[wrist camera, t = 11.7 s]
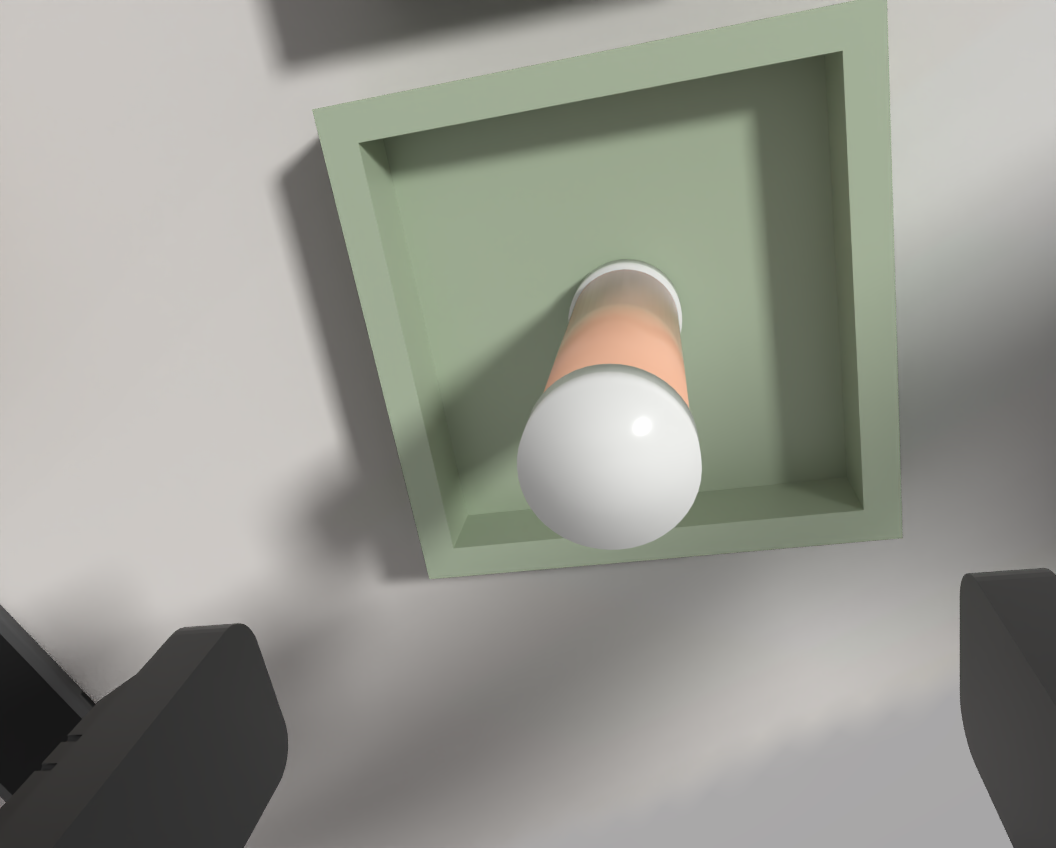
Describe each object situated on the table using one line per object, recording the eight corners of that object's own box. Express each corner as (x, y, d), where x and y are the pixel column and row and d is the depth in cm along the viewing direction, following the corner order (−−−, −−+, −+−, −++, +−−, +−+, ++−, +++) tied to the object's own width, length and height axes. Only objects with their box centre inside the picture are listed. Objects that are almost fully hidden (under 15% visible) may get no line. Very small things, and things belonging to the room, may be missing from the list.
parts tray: (856, 6, 22) (886, -6, 19) (876, 491, 27) (902, 538, 24) (350, 107, 25) (311, 109, 22) (450, 533, 29) (429, 579, 26)
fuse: (674, 250, 24) (691, 370, 14) (687, 358, 25) (711, 541, 15) (563, 268, 25) (501, 394, 14) (580, 371, 26) (534, 557, 16)
